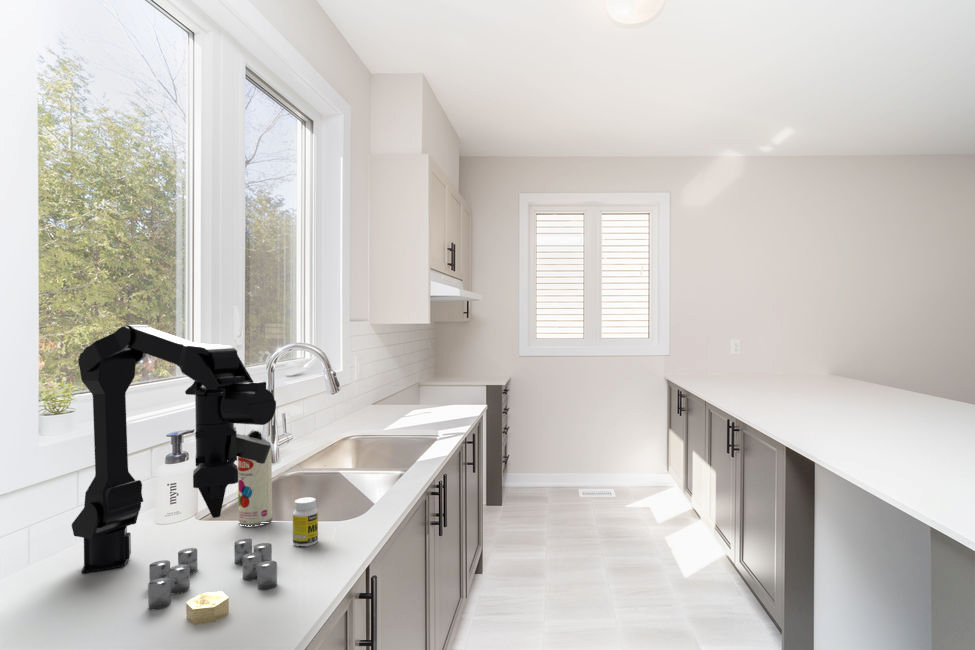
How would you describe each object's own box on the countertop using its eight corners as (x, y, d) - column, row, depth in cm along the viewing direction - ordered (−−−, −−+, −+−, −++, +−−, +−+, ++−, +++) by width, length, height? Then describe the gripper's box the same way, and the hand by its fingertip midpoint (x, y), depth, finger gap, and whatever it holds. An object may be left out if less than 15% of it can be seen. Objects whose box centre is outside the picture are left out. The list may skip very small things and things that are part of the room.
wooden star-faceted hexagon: (196, 629, 83) (196, 612, 83) (183, 615, 87) (183, 599, 87) (232, 616, 86) (232, 600, 86) (218, 603, 90) (218, 588, 90)
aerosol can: (232, 523, 127) (231, 431, 127) (260, 514, 132) (259, 426, 133) (250, 529, 123) (248, 434, 123) (278, 520, 128) (277, 429, 128)
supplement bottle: (310, 548, 112) (310, 504, 112) (288, 546, 113) (287, 503, 113) (322, 539, 117) (322, 497, 117) (300, 537, 118) (300, 496, 118)
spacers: (143, 613, 87) (143, 590, 87) (152, 573, 101) (152, 553, 101) (278, 587, 95) (277, 565, 95) (269, 553, 110) (268, 534, 110)
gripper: (272, 426, 91) (273, 526, 91) (262, 411, 108) (264, 495, 108) (192, 432, 86) (193, 538, 86) (195, 416, 103) (196, 504, 103)
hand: (216, 516), depth 96 cm, fingers closed
